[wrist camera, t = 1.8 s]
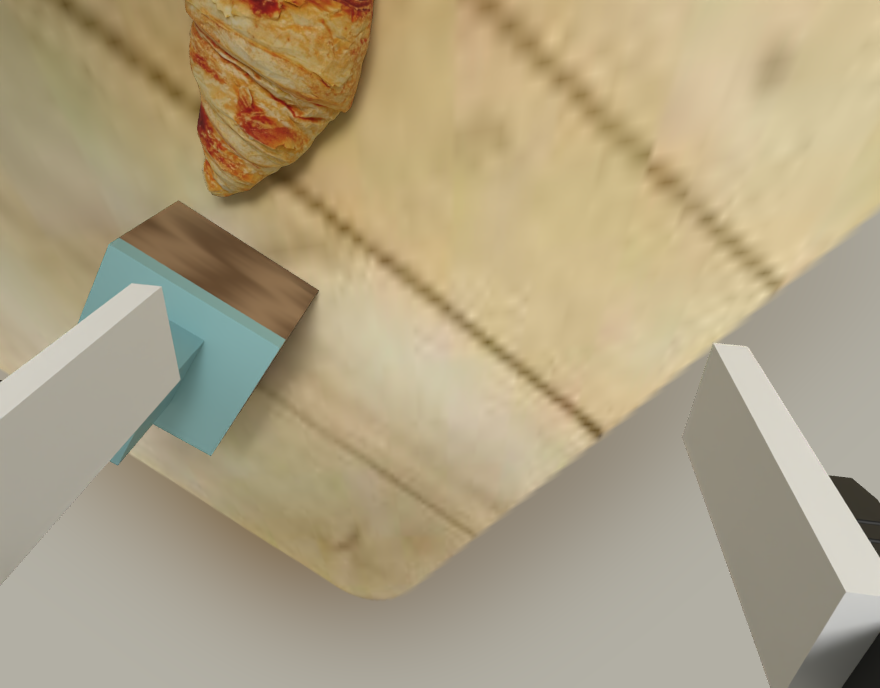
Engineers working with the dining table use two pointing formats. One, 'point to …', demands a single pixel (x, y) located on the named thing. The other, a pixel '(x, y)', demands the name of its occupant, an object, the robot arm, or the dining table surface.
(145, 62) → the dining table surface
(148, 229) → the box
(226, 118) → the croissant
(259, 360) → the lid
